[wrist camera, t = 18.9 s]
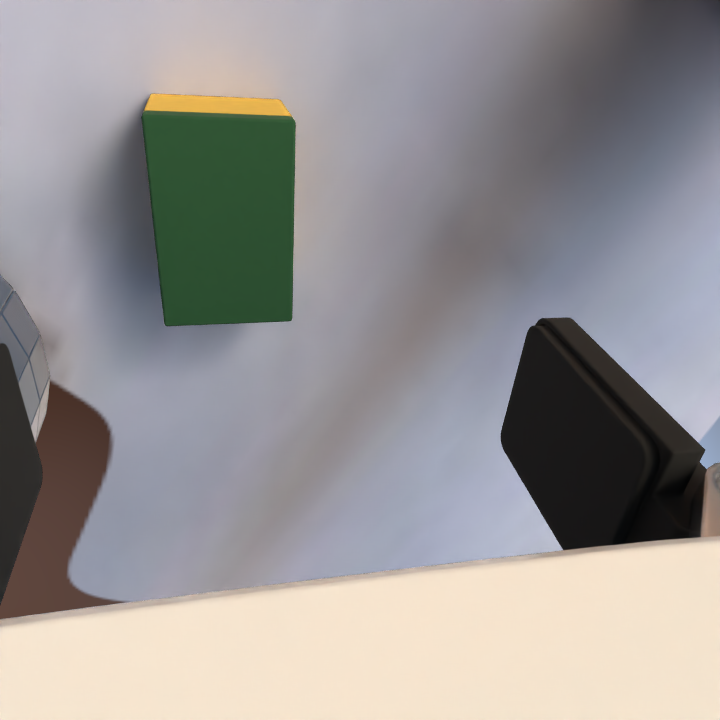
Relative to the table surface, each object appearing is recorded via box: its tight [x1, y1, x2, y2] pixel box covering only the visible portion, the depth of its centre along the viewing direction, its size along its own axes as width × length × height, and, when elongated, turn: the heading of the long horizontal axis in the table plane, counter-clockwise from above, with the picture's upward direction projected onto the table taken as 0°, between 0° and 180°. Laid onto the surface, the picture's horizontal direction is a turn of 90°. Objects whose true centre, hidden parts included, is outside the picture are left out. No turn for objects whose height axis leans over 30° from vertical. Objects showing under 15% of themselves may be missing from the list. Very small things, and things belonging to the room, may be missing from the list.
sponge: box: [141, 94, 296, 326], centre depth 21 cm, size 7×4×4 cm, turn 176°
